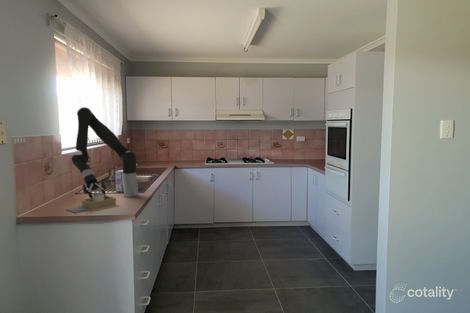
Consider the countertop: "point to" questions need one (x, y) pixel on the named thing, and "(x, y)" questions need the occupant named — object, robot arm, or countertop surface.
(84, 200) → the carton
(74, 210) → the slate mat
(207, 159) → the countertop surface
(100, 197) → the tea box
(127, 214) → the countertop surface
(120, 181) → the candy box
